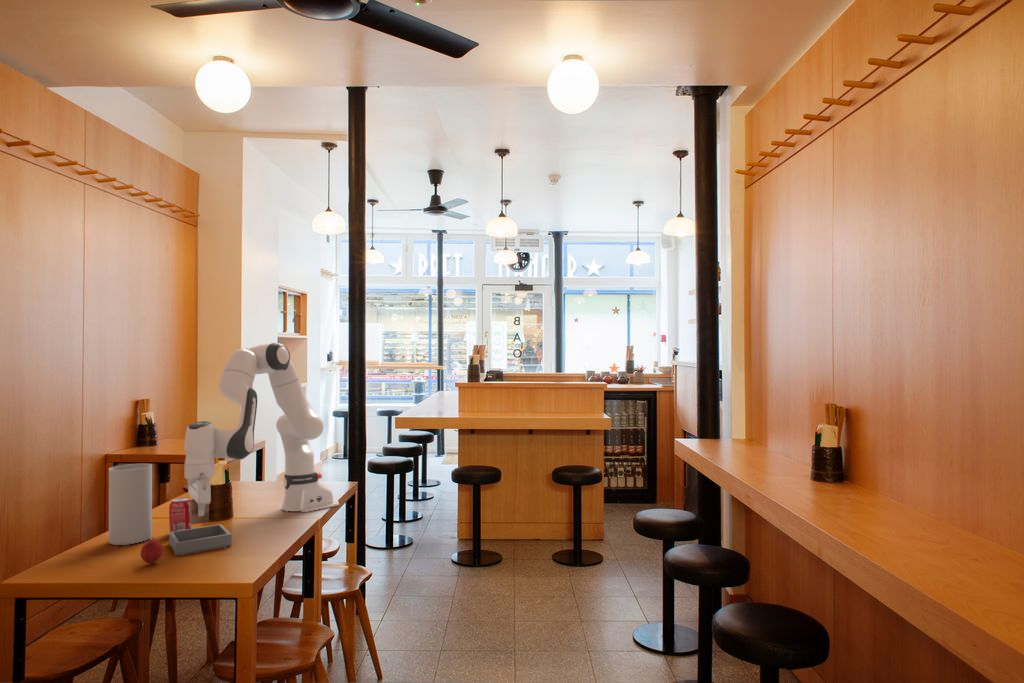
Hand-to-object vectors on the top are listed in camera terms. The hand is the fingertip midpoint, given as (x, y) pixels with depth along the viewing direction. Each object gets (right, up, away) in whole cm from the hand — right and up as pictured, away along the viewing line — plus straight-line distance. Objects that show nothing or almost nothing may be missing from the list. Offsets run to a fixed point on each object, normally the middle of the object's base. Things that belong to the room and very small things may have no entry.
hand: (199, 513), depth 205 cm
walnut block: (0, -3, 0) cm, 3 cm away
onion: (-5, -10, -19) cm, 22 cm away
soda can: (-14, -11, +14) cm, 23 cm away
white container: (-27, -11, +6) cm, 29 cm away
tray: (0, -10, 0) cm, 10 cm away
